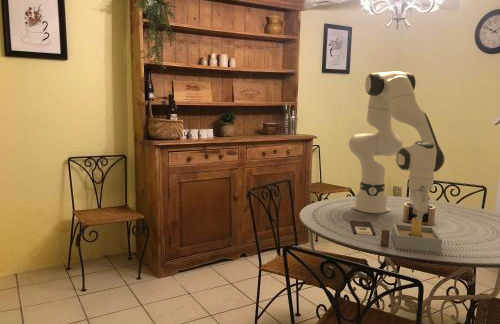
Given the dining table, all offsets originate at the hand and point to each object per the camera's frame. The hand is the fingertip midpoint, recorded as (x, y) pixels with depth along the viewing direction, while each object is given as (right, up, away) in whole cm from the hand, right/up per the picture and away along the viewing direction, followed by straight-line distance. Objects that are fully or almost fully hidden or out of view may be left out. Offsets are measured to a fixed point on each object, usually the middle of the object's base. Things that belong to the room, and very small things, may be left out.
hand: (417, 217), depth 165 cm
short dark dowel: (-13, -10, -2) cm, 17 cm away
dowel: (0, -10, +1) cm, 10 cm away
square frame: (0, -10, +1) cm, 10 cm away
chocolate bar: (-17, -8, +18) cm, 26 cm away
